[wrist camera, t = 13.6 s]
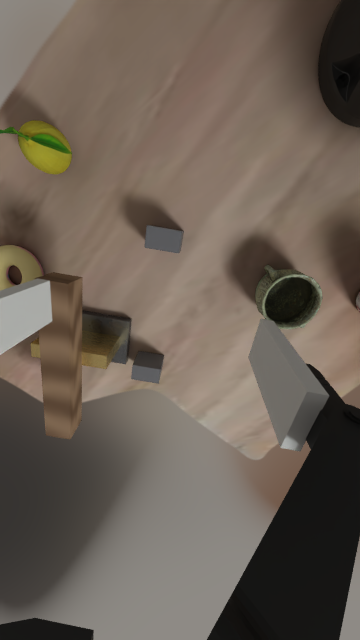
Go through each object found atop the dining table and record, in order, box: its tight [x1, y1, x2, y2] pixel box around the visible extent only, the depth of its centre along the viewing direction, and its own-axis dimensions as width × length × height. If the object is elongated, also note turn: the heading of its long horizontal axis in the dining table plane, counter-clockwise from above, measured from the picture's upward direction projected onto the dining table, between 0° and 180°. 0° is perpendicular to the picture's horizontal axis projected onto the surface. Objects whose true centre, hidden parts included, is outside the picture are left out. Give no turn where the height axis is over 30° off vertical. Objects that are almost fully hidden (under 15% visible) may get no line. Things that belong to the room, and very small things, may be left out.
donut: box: [0, 245, 44, 291], centre depth 39 cm, size 10×5×9 cm
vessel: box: [255, 265, 322, 329], centre depth 37 cm, size 12×9×6 cm
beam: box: [35, 272, 82, 439], centre depth 35 cm, size 26×4×4 cm, turn 171°
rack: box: [131, 225, 184, 384], centre depth 39 cm, size 26×5×5 cm, turn 171°
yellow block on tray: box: [31, 310, 131, 369], centre depth 40 cm, size 9×15×8 cm, turn 81°
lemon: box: [0, 120, 72, 174], centre depth 29 cm, size 7×6×10 cm
